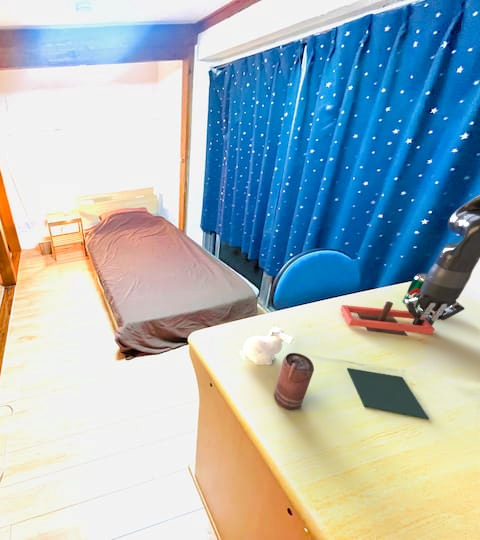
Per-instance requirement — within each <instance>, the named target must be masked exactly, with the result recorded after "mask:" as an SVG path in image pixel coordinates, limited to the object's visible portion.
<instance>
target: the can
mask: <svg viewBox="0 0 480 540" xmlns="http://www.w3.org/2000/svg"><path fill="white" fill-rule="evenodd" d="M280 366H281V367H280V370H279V373H278V377H277V380H276V384H275V387H274V391H273V398H274V400H275V402H276V404H277V405H279V407H281V408H282V409H284V410H288V411H291V412H292V411H297V410H299V409H301V407H302V404H303V402H304V400H305V396H306V393H307V391H308V388H309V385H310V382H311V380H312V377H313V374H314V370H315V367H314V363H313V362H312V360H311V359H310V358H309V357H307V356H306V355H304V354H302V353H297V352H290V353H288V354H286V356H284V357H283V359H282V362H281V365H280Z"/></svg>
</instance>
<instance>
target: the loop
mask: <svg viewBox="0 0 480 540" xmlns="http://www.w3.org/2000/svg"><path fill="white" fill-rule="evenodd" d="M382 310H383V308H378V307H368V306H357V305H346V304H341V307H340V312H341V313H342V316H343V317H344V319H345V321H346V322H347V324H348V326H354V327H362V328H365V327H370V328H379V329H388V330H397V331H405V333H414V334H415V333H416V334H424V335H433V334H434V332H435V330H436V329H435V327H433V325H432V326H431V325H430V323H429V322H428V321H427V320H426V319H424V320H425V321H424V323H423V325H422V326H419V325H413V324H410V323H409V324H408V323H399V322H398V323H391V322H382V321H372V320H363V319H360V318H354V316H353V314H357V313H360V314H370V315H381V312H382ZM352 313H353V314H352ZM388 316H390V317H394V318H399V319H400V318H401V319H410V320H411V319H412V320H414V319H415V318H414V317H413V316H412V315H411V314H410V313H409V311H408V310H402V309H401V310H399V309H391V310H390V312H389V314H388Z"/></svg>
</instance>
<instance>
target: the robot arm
mask: <svg viewBox="0 0 480 540" xmlns="http://www.w3.org/2000/svg"><path fill="white" fill-rule="evenodd" d="M447 228H448V229H449V230H450V231H451V232H452V233H454V234H456V235H458V236H460V237H462V239H461V240H460V242H451V243H447V244H445V245H443V247H442V248H441V250H440V252H439V254H438V255H437V258H436V259H435V262H434V263H433V265H432V266H431V267H430V269H429V271H428V273H427V274H428V275H427V277H426V279H425V281H424V283H423V285H422V287H421V290H420V293H419V294H418V295H416V297H415V298H413V299H408V298H405V299H404V298H403V299H404V300H403V299H402V301H404V303H405V304H404V303H403V304H404V305H405V307H406V309H407V311H409V313H410V314H411V315H412V316H413V317H414V318H415V319H413V320H412V322H411V325H419V326H422V325H423V323H424V321H425V320H424V319H426V320H427V321H428V322H429V323H430V325H431V326H432V327H433V325H434V323H435V322H437V321H439V320H441V321H446V320H447V319H449V318H451V317H453V316H455V315H457V314H459V313H460V312H462V311H465V307H464V306H463V305H462V304H460V303H459V302H458V301H457V300H458V299H459V298H460V296H461V295H462V293H463V291H464V289H465V288H466V286H467V284H468V282H469V281H470V279H471V277H472V274H473V271H474V270H475V267H476V266H477V264H478V263H479V260H480V194H478V195H476V196H475V197H473V198H472V199H470V200H469V201H467V202H465V203H464V204H462V206H460V207H458V208H457V209H456V210H454V211H453V213H451V215H450V216H449V218H448V220H447ZM417 302H418V304H419V305H418V308H415V306H416V303H417Z"/></svg>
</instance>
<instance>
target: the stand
mask: <svg viewBox="0 0 480 540" xmlns="http://www.w3.org/2000/svg"><path fill="white" fill-rule="evenodd" d="M393 305H394V303H393V302H392V301H386V302H385V304H384V306H383V308H382V309H383V310H382V312H381V315H370V314H360V313H356V315H357V316H358V319H363V320H372V321H382V322H391V323H399V322H398V321H397V320H396V318H395V317H390V316H388V314H389V312H390V310H392V307H393ZM364 328H365V329H366V331H367V332H373V333H380V334H388V335H397V336H404V337H409V336H408V334H407V332H406V331H397V330H388V329H379V328H370V327H364Z"/></svg>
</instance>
